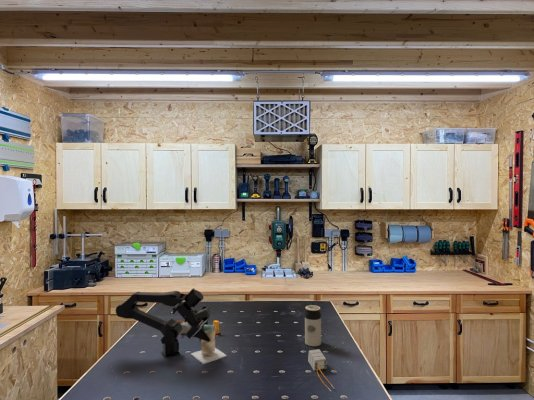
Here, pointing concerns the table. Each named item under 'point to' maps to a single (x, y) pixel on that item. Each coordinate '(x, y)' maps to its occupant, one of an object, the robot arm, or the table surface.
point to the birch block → (206, 346)
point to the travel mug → (312, 325)
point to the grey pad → (208, 356)
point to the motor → (185, 327)
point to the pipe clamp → (216, 326)
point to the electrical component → (318, 362)
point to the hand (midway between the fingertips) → (211, 338)
